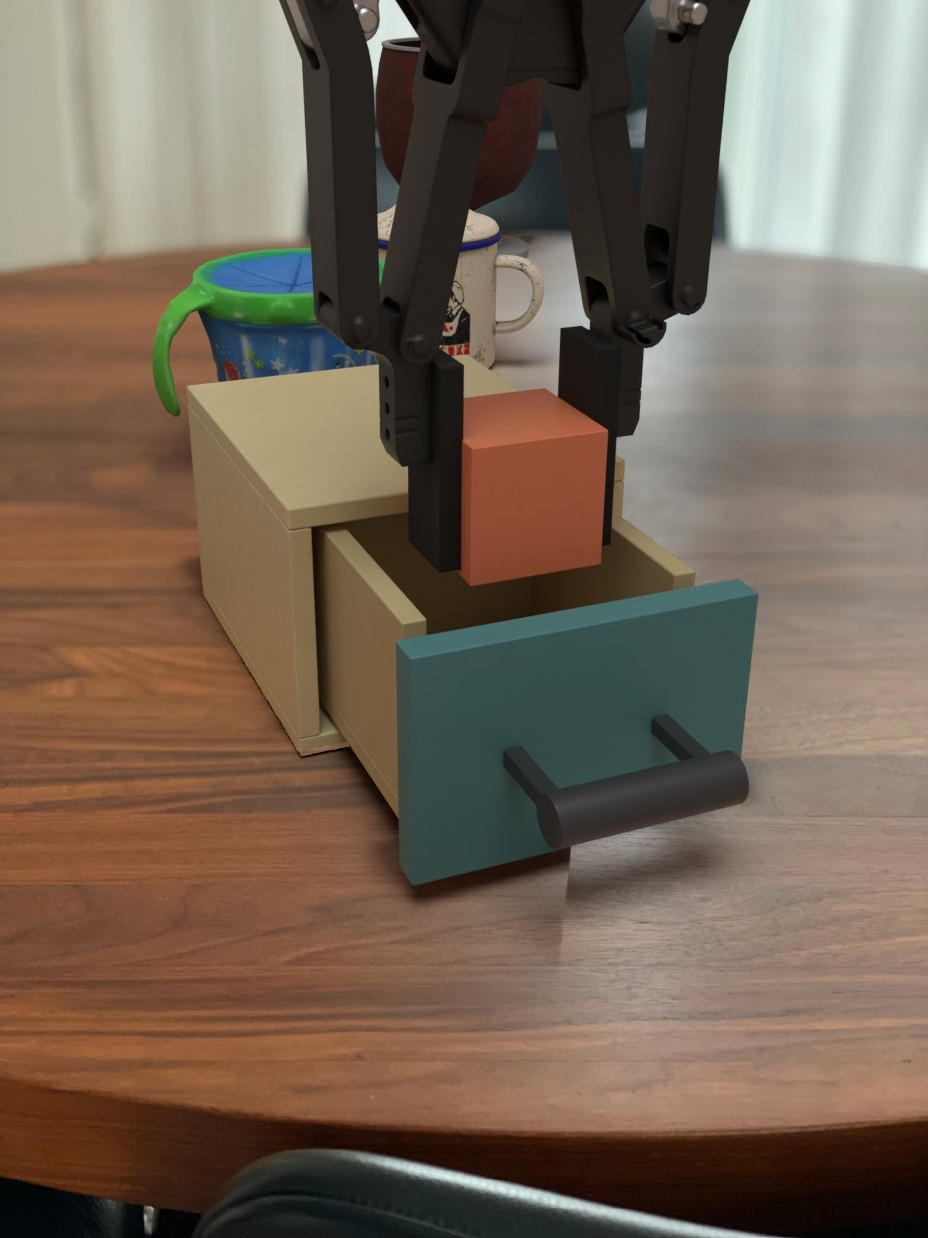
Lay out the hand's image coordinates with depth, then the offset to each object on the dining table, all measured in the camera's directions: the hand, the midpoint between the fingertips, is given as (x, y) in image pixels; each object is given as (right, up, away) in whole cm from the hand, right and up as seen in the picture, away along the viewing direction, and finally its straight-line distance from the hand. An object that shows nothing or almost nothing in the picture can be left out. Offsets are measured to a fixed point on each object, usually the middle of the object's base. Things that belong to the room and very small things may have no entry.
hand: (509, 541), depth 47 cm
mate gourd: (-2, +29, +79) cm, 84 cm away
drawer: (0, -8, +3) cm, 8 cm away
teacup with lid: (-2, +14, +49) cm, 51 cm away
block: (0, 0, 0) cm, 0 cm away
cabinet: (-4, -3, +13) cm, 14 cm away
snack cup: (-11, +7, +34) cm, 36 cm away
